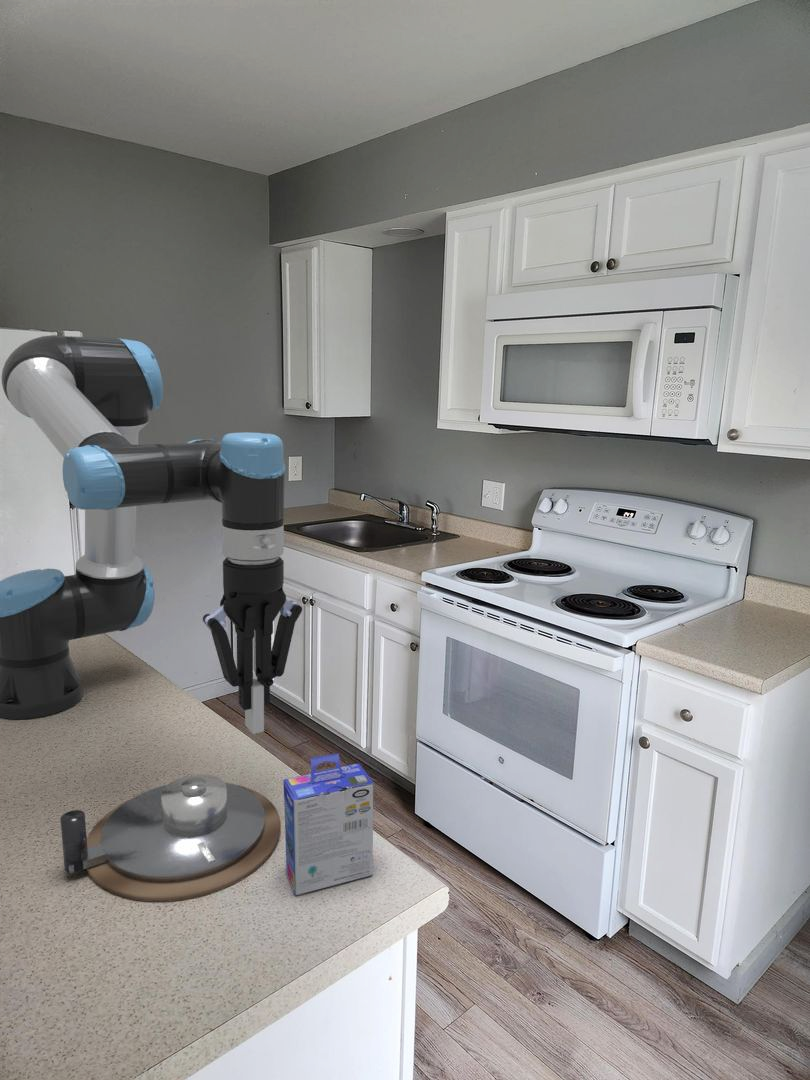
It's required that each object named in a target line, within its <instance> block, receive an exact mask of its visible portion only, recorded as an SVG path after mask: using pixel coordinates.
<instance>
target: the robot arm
mask: <svg viewBox="0 0 810 1080" xmlns="http://www.w3.org/2000/svg"><path fill="white" fill-rule="evenodd" d="M1 386H2V389H3V392H4V395H5V397H6V398H7V400H8V401H9V402H10V404H11V405H12V406H13V408H14V409H15V410H16V411H17V412H18V413H20V414H21V415H23V416H25V417H27V418H29V419H32V420H33V421H34V423H35V424H36V426H37V427H38V428H39V429H40V430H41V431H42V433H43V434H44V435H45V436H46V438H47V439H48V440H49V441H50V442H51V444H52V445H53V446H54V448H55V449H56V450H57V452H59V454H60V455H61V456H62V458H63V462H62V480H63V482H62V483H63V486H64V487H63V488H64V489H65V492H66V493H67V499H68V500H69V502H70V503H71V504H72V506H73V507H75V508H76V509H79V510H83V511H84V554H83V555H82V556H81V557H79V558H78V559H77V560H76V562H75V574H72V575H71V574H70V575H65V574H64V573H63V571H61V570H60V569H56V568H44V569H41V568H40V569H34V570H28V571H27V570H26V571H23V572H20V573H16V574H12V575H10V576H8V577H6V578H3V579H2V580H0V718H3V719H8V720H9V719H10V720H25V719H26V720H27V719H35V718H36V719H37V718H41V717H46V716H50V715H54V714H57V713H60V712H63V711H65V710H68V709H70V708H71V707H74V706H75V705H76V704H78V703H79V702H80V701H81V700H82V698H83V696H84V693H83V692H84V691H83V690H84V689H83V682H82V679H81V677H80V676H79V675H80V674H79V672H78V671H77V669H76V667H75V665H74V662H73V661H72V658H71V655H70V647H69V646H70V645H69V644H70V643H69V642H70V641H72V640H77V639H83V638H88V637H92V636H98V635H101V634H102V635H103V634H108V633H112V632H123V631H126V630H128V629H132V628H136V627H139V626H142V625H144V623H146V622H147V621H148V620H149V618H150V617H151V615H152V612H153V609H154V604H155V599H156V598H155V597H156V595H155V594H156V592H155V590H156V589H155V587H154V584H155V583H154V578H153V576H152V573H151V571H150V570H149V569H148V568H147V567H146V566H144V562H143V560H142V559H141V558H140V557H138V556H137V555H136V530H137V507H141V506H142V507H143V506H150V505H160V504H173V503H174V504H175V503H186V502H196V501H207V500H210V501H214V502H215V501H216V502H218V503H221V513H222V515H221V517H222V519H221V521H222V522H221V523H222V524H221V526H222V528H221V529H222V539H221V540H222V555H223V556H224V560H223V561H222V577H223V578H222V587H223V595H222V598H221V599H220V602H219V606H220V607H219V608H217V609H216V610H215V611H214V612H213V613H211V614H210V613H206V614H204V615H203V616H202V622H203V623H204V625H206V627H207V628H208V629H209V631H210V632H211V637H212V640H213V644H214V646H215V650H216V654H217V657H218V661H219V665H220V669H221V672H222V675H223V679H224V680H225V681H226V682H228V683H229V685H230V686H231V687H234V688H235V687H238V704H239V706H240V708H241V709H243V711H244V715H245V716H244V718H245V719H244V721H245V723H244V725H245V727H246V728H247V729H248V730H249V731H250V732H251V734H252V735H255V734H259V733H262V732H263V733H264V732H265V706H267V705H270V702H271V693H270V692H271V686H273V685H274V682H275V680H273V679H276V678H277V677H278V678H279V677H282V676H283V675H284V673H285V669H286V665H287V661H288V656H289V652H290V647H291V644H292V638H293V635H294V630H295V625H296V622H297V621H298V619H299V617H300V615H301V613H302V611H303V607H302V606H301V605H300V604H298V603H297V602H295V601H293V600H288V599H287V596H286V593H285V592H284V588H283V587H284V584H285V583H284V576H285V575H284V574H285V573H284V571H285V570H284V566H285V565H284V564H285V563H284V560H283V558H282V557H281V556H282V555H283V554H284V552H285V551H284V541H285V538H284V535H285V532H284V531H285V530H284V517H285V515H284V514H285V473H286V464H285V461H284V443H283V441H282V439H281V438H280V436H278V435H276V434H272V433H262V432H249V431H248V432H245V431H244V432H229V433H226V434H225V435H224V436H223V437H222V439H221V441H217V440H215V439H194V440H190V441H188V442H183V443H179V442H178V443H151V444H150V443H149V444H146V443H145V444H139V433H140V431H141V430H142V429H143V428H144V427H145V426H147V425H148V424H149V412H150V411H151V412H153V411H156V410H158V409H159V408H160V407H161V404H162V403H161V402H162V401H163V397H164V395H163V394H164V387H163V379H162V374H161V370H160V366H159V363H158V361H157V358H156V356H155V354H154V353H153V351H152V349H151V348H150V347H149V346H148V345H146V344H145V343H143V342H141V341H138V340H133V339H132V340H130V339H126V338H125V339H123V338H119V337H100V336H99V337H95V336H94V337H92V336H67V335H57V334H56V335H55V334H54V335H53V334H51V335H42V336H38V337H35V338H31V339H30V340H28V341H26V342H24V343H22V344H20V345H19V346H18V347H17V348H15V349H14V350H13V351H12V352H11V354H10V355H9V356H8V357H7V359H6V361H4V365H3V368H2V372H1ZM279 613H280V614H279ZM278 614H279V617H278V621H277V625H276V628H275V629H276V630H275V633H274V621H275V619H276V618H277V616H278ZM226 617H228V619H229V620H230V622H232V624H233V625H234V630H235V631H234V632H235V634H236V661H235V657H234V654H233V651H232V647H231V644H230V640H229V636H228V633H227V631H226V630H225V628H226V627H227V621H226ZM273 633H274V638H273V643H272V635H273ZM253 641H254V642H253ZM254 649H255V650H254ZM254 654H255V656H254ZM254 658H255V661H254ZM254 664H255V665H254ZM254 666H255V670H254ZM254 671H255V677H256V678H254Z"/></svg>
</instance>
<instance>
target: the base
mask: <svg viewBox="0 0 810 1080" xmlns="http://www.w3.org/2000/svg"><path fill="white" fill-rule="evenodd" d="M236 785H237V786H240V787H243V788H245V789H247V790H248V791H250V792H251V793H253V794H254V795H255V796H256V797H257V798H258V799H259V800H260V801H261V803H262V805H263V807H264V812H265V828H264V832H263V835H262V837H261V839H260V841H259V842H258V843H257V845H256V846H255V847H254V848H253V849H252V850H251V851H250V852H249V853H248V854H247V855H246V856H244V857H243V858H242V859H240V860H239V861H237V862H236V863H234V864H232V865H230V866H228V867H227V868H225V869H222V870H220V871H218V872H215V873H212V874H209V875H206V876H203V877H199V878H195V879H191V880H184V881H177V882H150V881H142V880H137V879H133V878H130V877H127V876H125V875H123V874H121V873H119V872H117V871H116V870H114V869H113V868H111V867H110V866H109V864H108V863H107V862H104V863H101V864H98V865H95V866H92V867H89V868H86V869H85V871H86V872H87V875H88V876H89V878H90V879H91V880H92V881H93V882H94V883H95V885H97V886H98V887H99V888H101V889H102V890H104V891H106V892H108V893H110V894H112V895H114V896H118V897H120V898H124V899H128V900H132V901H137V902H139V901H140V902H148V903H167V902H179V901H186V900H190V899H195V898H200V897H204V896H208V895H210V894H214V893H216V892H220V891H222V890H224V889H226V888H229V887H230V886H233V885H235V884H237V883H239V882H241V881H242V880H245V879H246V878H248V877H249V876H250V875H252V874H254V873H255V872H256V871H257V870H258V869H260V867H262V866H263V865H264V864H265V863H266V862H267V860H269V858H271V856H272V855H273V853H274V852H275V850H276V849H277V847H278V844H279V841H280V837H281V818H280V814H279V812H278V810H277V808H276V806H275V805H274V804H273V803H272V802H271V801H270V800H269V799H268V798H267V797H265V796H264V795H263V794H261V793H259V792H257V791H255V790H254V789H251V788H248V787H246V786H244V785H243V786H242V785H238V784H236ZM129 800H130V799H128V800H126V801H124V802H123V803H120V804H119V805H117V806H115V807H114V808H113V809H112V810H110V811H109V812H108V813H107V814H105V815H104V816H103V817H102V818H101V819H99V820H98V822H96V824H95V825H94V826H93V828H91V830H90V832H89V833H88V834H87V848H89V847H92V846H95V845H99V844H101V832H102V829H103V826H104V824H105V822H106V821H107V819H108V818H109V817H110V816H111V814H112V813H113V812H114V811H115V810H117V809H118V808H119V807H120V806H121V805H123V804H124V803H126V802H127V801H129Z"/></svg>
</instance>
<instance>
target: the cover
mask: <svg viewBox="0 0 810 1080" xmlns="http://www.w3.org/2000/svg"><path fill="white" fill-rule="evenodd" d="M225 782H226V781H224V780H223V779H222V778H221V777H218V776H216V775H212V774H191V775H190V774H189V775H185V776H183V777H180V778H177V779H174V780H173V781H171V782H169V783H168V784H166V785H167V786H166V787H165V788H164V789H163V791H162V793H161V801H162V821H163V828H164V829H165V831H166V832H168V833H169V834H171V835H173V836H177V837H183V838H192V837H199V836H203V835H207V834H209V833H212V832H214V831H215V830H217V829H219V828H220V827H221V826H222V825H223V824H224V823H225V821H226V819H227V789H226V784H225Z"/></svg>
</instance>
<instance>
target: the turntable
mask: <svg viewBox="0 0 810 1080" xmlns="http://www.w3.org/2000/svg"><path fill="white" fill-rule="evenodd" d="M224 782H225V784H226V789H227V819H226V821H225V823H224V824H223V825H222V826H221V827H220V828H219V829H217V830H215V831H214V832H212V833H209V834H207V835H203V836H199V837H192V838H183V837H177V836H173V835H171V834H169V833H168V832H166V831H165V829H164V828H163V821H162V801H161V793H162V791H163V789H164V788H165V787H166V786H167V785H168V784H164V785H162V786H161V785H160V786H157V787H156V788H155V787H154V788H152V789H149V790H146V791H144V792H142V793H140V794H138V795H136V796H133V797H132V798H130V799H128V800H129V801H128V800H126V801H127V802H126V801H125V802H126V803H124V802H123V803H124V804H123V803H122V804H123V805H121V804H120V805H121V806H120V807H119V808H118V809H117V810H115V811H114V812H113V813H112V814H111V816H110V817H109V818H108V819H107V821H106V822H105V824H104V826H103V829H102V832H101V844H99V845H95V846H92V847H89V848H87V837H88V834H87V825H86V823H87V822H86V814H85V812H84V811H83V810H80V809H73V810H71V811H67V812H65V813H62V815H61V816H60V831H61V841H62V852H63V853H62V854H63V865H64V866H63V867H64V871H65V872H66V873H69V874H76V873H80V872H83V871H84V870H86V868H89V867H92V866H95V865H98V864H101V863H104V862H107V863H108V864H109V866H110V867H111V868H113V869H114V870H116V871H117V872H119V873H121V874H123V875H125V876H127V877H130V878H133V879H137V880H142V881H150V882H177V881H184V880H191V879H195V878H199V877H203V876H206V875H209V874H212V873H215V872H218V871H220V870H222V869H225V868H227V867H228V866H230V865H232V864H234V863H236V862H237V861H239V860H240V859H242V858H243V857H244V856H246V855H247V854H248V853H249V852H250V851H251V850H252V849H253V848H254V847H255V846H256V845H257V843H258V842H259V841H260V839H261V837H262V835H263V832H264V828H265V812H264V807H263V805H262V803H261V801H260V800H259V799H258V798H257V797H256V796H255V795H254V794H253V793H251V792H250V791H248V790H247V789H245V788H243V787H244V786H243V787H240V786H241V785H239V786H237V785H238V784H234V783H231V782H226V781H224Z"/></svg>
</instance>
